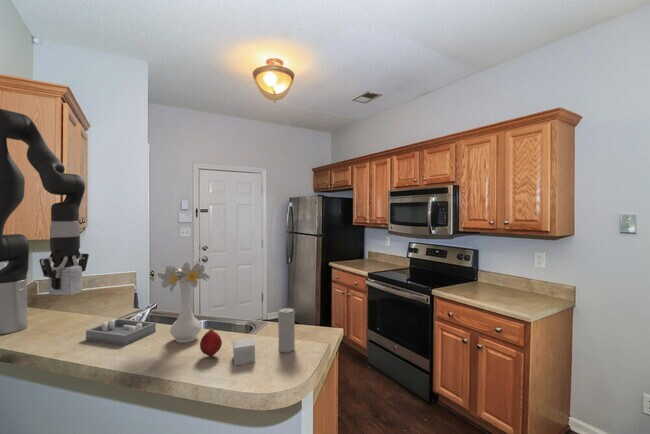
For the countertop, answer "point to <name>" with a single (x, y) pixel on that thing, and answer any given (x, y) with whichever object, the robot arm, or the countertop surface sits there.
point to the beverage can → (286, 330)
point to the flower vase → (184, 299)
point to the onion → (210, 343)
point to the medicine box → (69, 281)
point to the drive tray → (120, 331)
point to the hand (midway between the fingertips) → (65, 287)
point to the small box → (244, 351)
